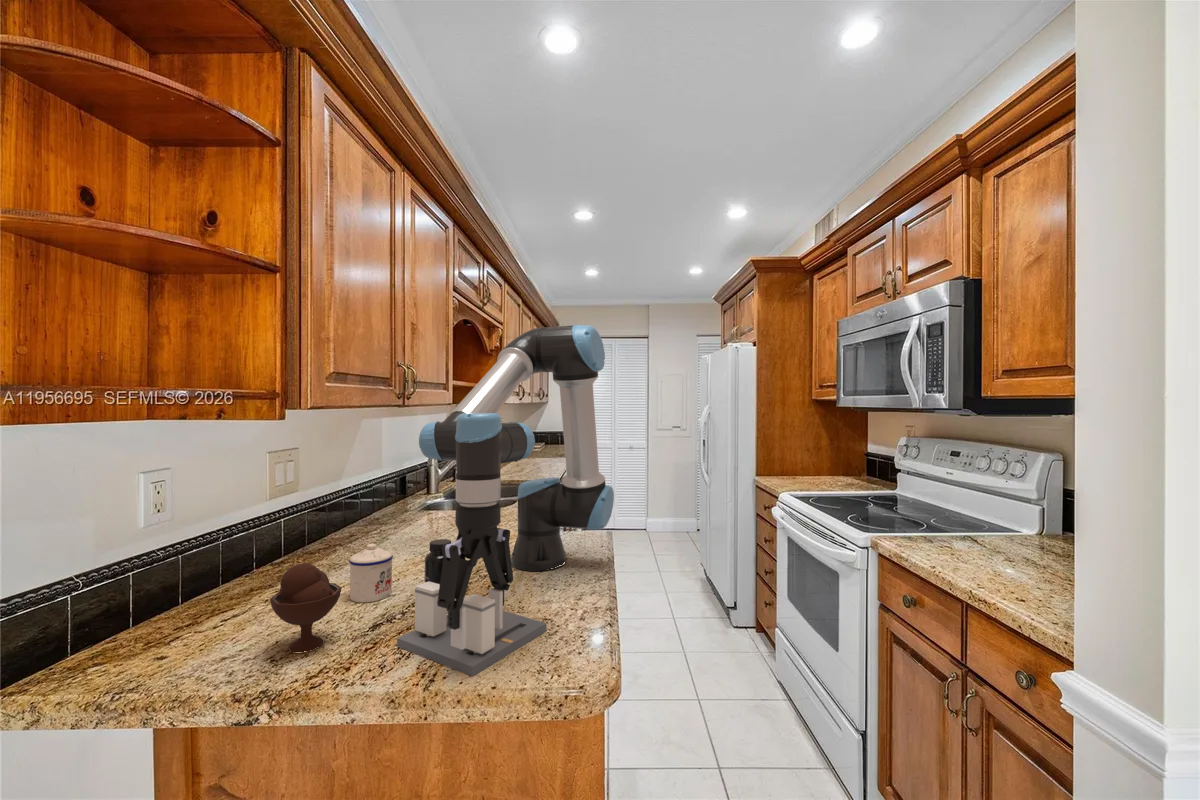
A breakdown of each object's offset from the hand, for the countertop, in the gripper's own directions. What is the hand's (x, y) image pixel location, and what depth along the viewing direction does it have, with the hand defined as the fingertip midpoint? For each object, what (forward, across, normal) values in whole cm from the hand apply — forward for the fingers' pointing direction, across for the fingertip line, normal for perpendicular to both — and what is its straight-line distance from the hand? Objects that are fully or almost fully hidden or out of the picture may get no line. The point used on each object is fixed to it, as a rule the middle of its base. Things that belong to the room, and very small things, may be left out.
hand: (477, 636), depth 85 cm
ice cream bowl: (+4, +13, -30) cm, 32 cm away
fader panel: (+4, -5, -6) cm, 9 cm away
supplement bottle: (+4, -17, -30) cm, 34 cm away
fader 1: (+4, 0, -12) cm, 13 cm away
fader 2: (+4, 0, 0) cm, 4 cm away
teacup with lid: (+4, -9, -42) cm, 44 cm away
